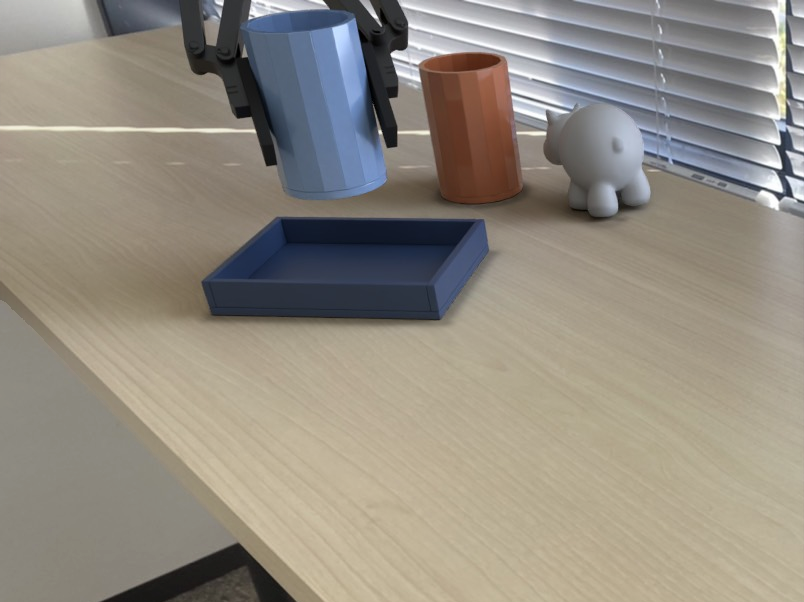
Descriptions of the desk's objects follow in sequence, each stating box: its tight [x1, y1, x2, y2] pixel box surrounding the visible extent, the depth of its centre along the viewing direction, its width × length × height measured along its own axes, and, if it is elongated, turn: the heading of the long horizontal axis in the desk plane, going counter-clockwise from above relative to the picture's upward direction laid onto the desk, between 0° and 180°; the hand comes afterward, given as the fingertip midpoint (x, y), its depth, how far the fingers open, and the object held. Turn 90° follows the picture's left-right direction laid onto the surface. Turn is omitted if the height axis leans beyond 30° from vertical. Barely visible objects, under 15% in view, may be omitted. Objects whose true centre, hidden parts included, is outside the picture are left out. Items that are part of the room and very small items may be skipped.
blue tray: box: [200, 216, 490, 320], centre depth 88 cm, size 17×13×3 cm
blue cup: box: [241, 8, 389, 201], centre depth 81 cm, size 7×7×11 cm
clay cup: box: [417, 51, 524, 205], centre depth 102 cm, size 7×7×11 cm
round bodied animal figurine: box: [542, 102, 651, 218], centre depth 100 cm, size 7×12×8 cm, turn 39°
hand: (332, 146), depth 80 cm, fingers closed on blue cup, 7 cm apart
